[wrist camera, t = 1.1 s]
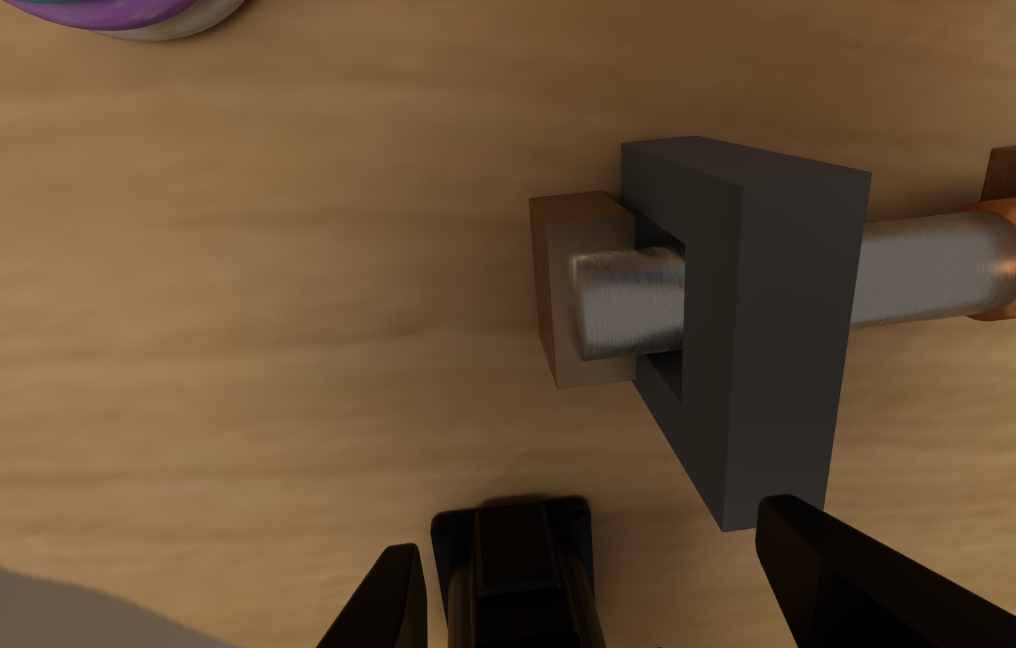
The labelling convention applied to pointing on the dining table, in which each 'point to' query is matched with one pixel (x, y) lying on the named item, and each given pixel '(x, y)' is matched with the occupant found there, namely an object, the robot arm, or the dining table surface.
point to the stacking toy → (133, 16)
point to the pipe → (661, 276)
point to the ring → (749, 313)
